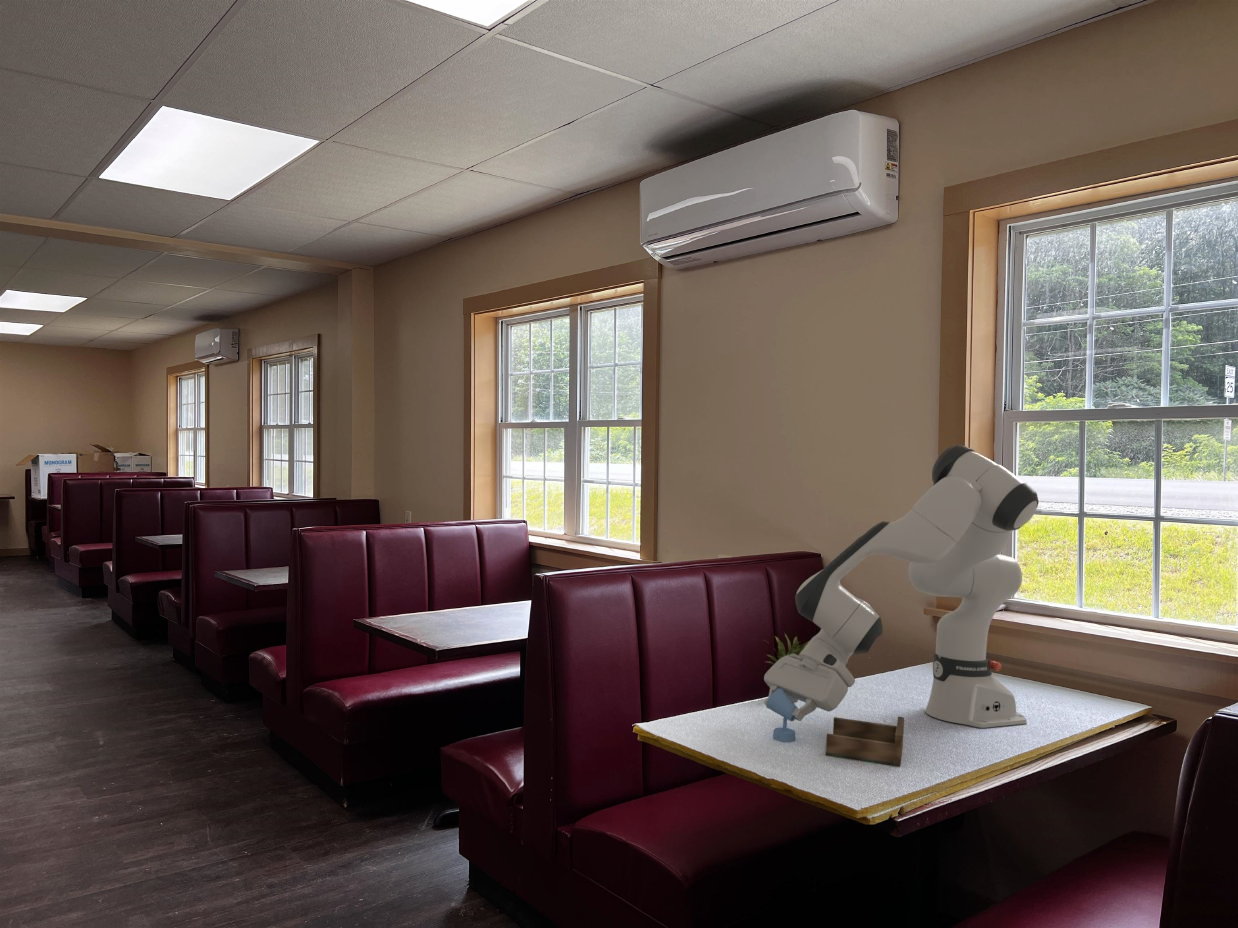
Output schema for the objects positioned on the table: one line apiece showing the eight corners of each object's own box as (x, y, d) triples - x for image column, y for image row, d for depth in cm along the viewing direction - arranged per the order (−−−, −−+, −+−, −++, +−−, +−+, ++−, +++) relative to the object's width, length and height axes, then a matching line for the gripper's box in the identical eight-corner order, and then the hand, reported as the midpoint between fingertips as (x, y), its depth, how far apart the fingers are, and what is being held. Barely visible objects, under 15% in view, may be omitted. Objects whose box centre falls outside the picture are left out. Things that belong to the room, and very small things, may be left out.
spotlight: (761, 736, 182) (790, 744, 178) (764, 688, 182) (792, 695, 178) (774, 731, 186) (803, 739, 181) (777, 684, 186) (805, 691, 181)
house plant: (832, 701, 213) (836, 634, 213) (805, 712, 202) (809, 641, 203) (781, 689, 222) (784, 625, 222) (752, 699, 212) (755, 631, 212)
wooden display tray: (825, 755, 172) (827, 724, 172) (833, 735, 185) (834, 707, 185) (900, 766, 167) (901, 735, 167) (902, 746, 180) (904, 717, 180)
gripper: (781, 642, 194) (743, 689, 189) (845, 663, 176) (805, 715, 171) (796, 661, 196) (758, 708, 192) (861, 683, 178) (821, 736, 174)
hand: (781, 712), depth 181 cm, fingers open, 8 cm apart
